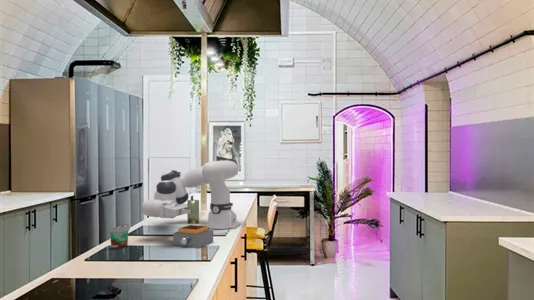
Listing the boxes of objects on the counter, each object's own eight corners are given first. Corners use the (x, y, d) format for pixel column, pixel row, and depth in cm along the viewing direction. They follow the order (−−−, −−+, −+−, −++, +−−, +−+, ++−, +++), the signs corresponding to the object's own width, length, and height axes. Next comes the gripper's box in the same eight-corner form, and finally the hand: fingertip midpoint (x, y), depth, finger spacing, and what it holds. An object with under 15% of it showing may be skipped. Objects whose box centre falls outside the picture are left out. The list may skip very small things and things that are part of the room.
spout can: (191, 221, 223) (191, 194, 223) (201, 222, 221) (201, 195, 221) (185, 223, 218) (185, 195, 218) (195, 224, 216) (195, 196, 216)
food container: (121, 250, 207) (121, 228, 206) (109, 249, 208) (109, 227, 208) (134, 244, 219) (134, 223, 218) (123, 243, 220) (123, 223, 220)
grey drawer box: (188, 239, 229) (188, 224, 229) (213, 241, 224) (213, 225, 224) (169, 246, 213) (169, 229, 213) (195, 249, 208) (195, 232, 208)
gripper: (182, 212, 234) (205, 214, 229) (158, 218, 215) (183, 220, 210) (181, 200, 234) (205, 201, 229) (158, 205, 215) (183, 206, 210)
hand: (194, 210), depth 219 cm, fingers closed on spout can, 6 cm apart
